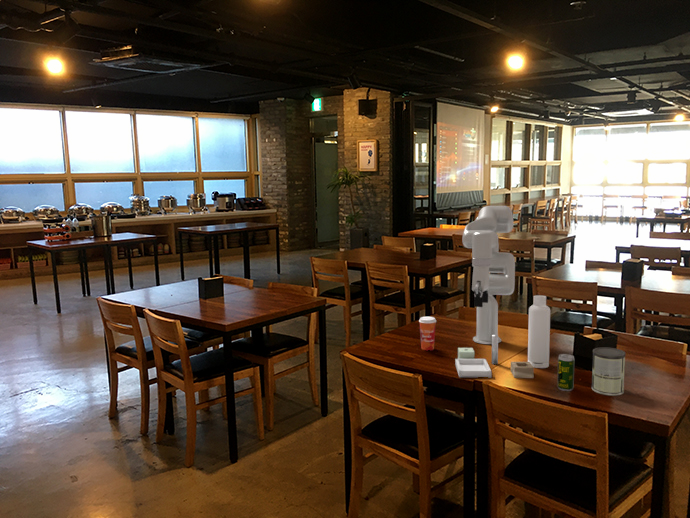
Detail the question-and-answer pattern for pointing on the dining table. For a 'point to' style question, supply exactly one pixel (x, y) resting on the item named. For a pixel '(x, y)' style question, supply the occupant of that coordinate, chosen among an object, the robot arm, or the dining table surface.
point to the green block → (465, 353)
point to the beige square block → (522, 370)
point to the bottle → (539, 333)
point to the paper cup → (427, 332)
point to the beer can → (565, 372)
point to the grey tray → (473, 368)
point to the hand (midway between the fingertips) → (481, 304)
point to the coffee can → (608, 371)
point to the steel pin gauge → (495, 349)
